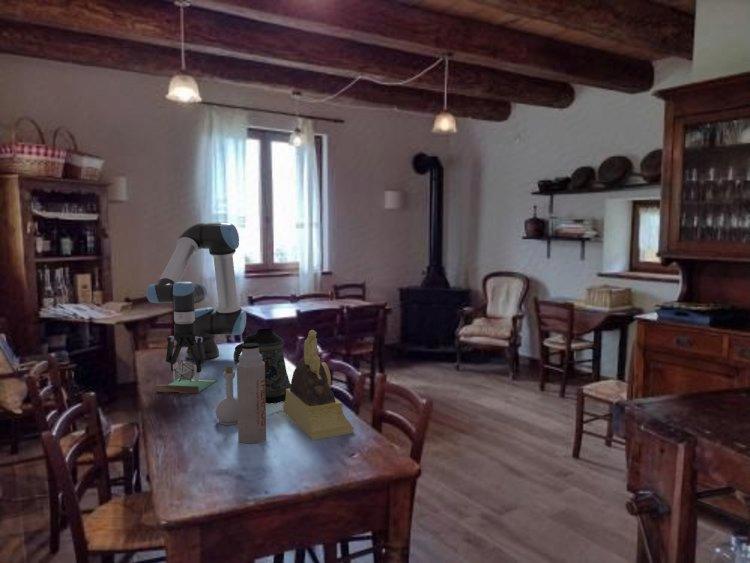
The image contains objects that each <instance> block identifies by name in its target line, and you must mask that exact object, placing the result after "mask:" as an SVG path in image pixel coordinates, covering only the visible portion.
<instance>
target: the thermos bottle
mask: <svg viewBox="0 0 750 563" xmlns="http://www.w3.org/2000/svg"><path fill="white" fill-rule="evenodd" d="M241 347H242V352H241V354H240V356H239V363H237V366H236V385H237V386H236V389H237V390H236V393H237V394H236V395H237V396H236V398H237V404H238V423H237V434H238V435H237V436H238V437H237V439H238V441H239V442H240V443H243V444H257V443H261V442H264V441H265V440H266V438H267V409H266V408H267V404H266V397H265V363H264V362H263V361H262V359H263V358H262V355H261V354H260V353H259V344H257V343H246V344H242V345H241Z"/></svg>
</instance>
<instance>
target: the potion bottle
mask: <svg viewBox="0 0 750 563" xmlns="http://www.w3.org/2000/svg"><path fill="white" fill-rule="evenodd" d="M233 369H234V367H233V366H227V367H224V372H223V373H222V375H223V378H224V379H225V389H226V390H225V391H226V392H225V398H221V399H220V400H219V402H218V403H217V405H216V408H215V411H214V412H215V414H216V418H217V420H218V422H220V423H219V424H220V425H222V424H223V425H224V426H233V424H234V425H238V404H237V396H236V397H234V378H235V375H236V371H235V370H233Z"/></svg>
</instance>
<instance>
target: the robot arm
mask: <svg viewBox="0 0 750 563" xmlns="http://www.w3.org/2000/svg"><path fill="white" fill-rule="evenodd" d="M175 245H176V248H175V250H174V251H173V253H172V256H171V257H170V259H169V261H168V263H167V264H166V266H165V268H164V269H163V272H162V274H161V276H160V278H159V279H158V282H157V283H153V284H152V283H151V284H149V285H148V286H147V288H146V299H147V300H148V301H149V302H150V303H153V304H173V319H174V320H173V321H174V322H175V323H174V326H173V327H174V335H169V336H168V337H167V338H166V340H167V348H166V356H165V362H166V363H169V364H170V371H171V372H172V374H173V375H172V376H173V378H172V379H173V382H174V381H176V380H178V379H179V377H178V375H177V373H176V371H174V369H176V368H177V367H178V366H179V363H178V357H179V355H180V353H181V351H182V348H183V347H187V349H186V353H185V356H186V359H188V358H189V360H194V362H195V363H194V379H195V382H197V381H199V380H200V379H201V377H200V376H201V375H200V373H201V372H202V364H204V363H206V362H207V360H209V359H214V358H217V357H219V356H220V349H219V347H218V344H217V342H216V336H239V335H242V334H243V333H244V331H245V328H246V325H247V312H246V310H242V305H241V304H239V303H238V296H237V287H236V275H235V266H234V257H233V256H234V254H235V253H236V249H238V248H239V246H240V236H239V232H238V229H237V227H236V226H235V225H234V224H233V223H227V222H199V223H196V224H193V225H191V226H189V227H188V228H187V229H185V230H184V231H183V232H182V233H181V235H179V237H178V238H177V241H176V244H175ZM204 249H205V250H208V251H209V255H211V257H212V258H213V263H214V265H213V267H214V273H215V275H214V276H215V283H216V285H215V286H216V292H217V302H218V305H217V306H216V308H215V307H213V306H208V307H201V308H196V309H195V305H196V304H199V303H201V302H203V301H205V299H206V298H207V295H208V291H207V288H206V287H205V285H203V284H201V283H194V282H193V281H181V280H182V278H183V276H184V274H185V273H186V269H187V268H188V266H189V264H190V262H191V260H192V258H193V256H194V255H195V254H197V253H198V251H199V250H204ZM175 341H176V344H175ZM174 344H175V345H174ZM174 347H175V349H174Z"/></svg>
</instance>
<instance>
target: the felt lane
mask: <svg viewBox="0 0 750 563" xmlns="http://www.w3.org/2000/svg"><path fill="white" fill-rule="evenodd" d="M179 380H180V379H178V380H176V381H174V380H173V382H171V383H169V384H168V385H176V386H199V393H200V392H203V391H204V390H205V389H207V388H209V387H210V386H212V385H213V384H215V383H217V382H218V381H217V380H218V379H216V378H215V379H213V378H212V379H211V378H200V380H199V381H197V382H195V378H192V379H191V380H192V382H190V380H180V381H179ZM214 382H215V383H214Z"/></svg>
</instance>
